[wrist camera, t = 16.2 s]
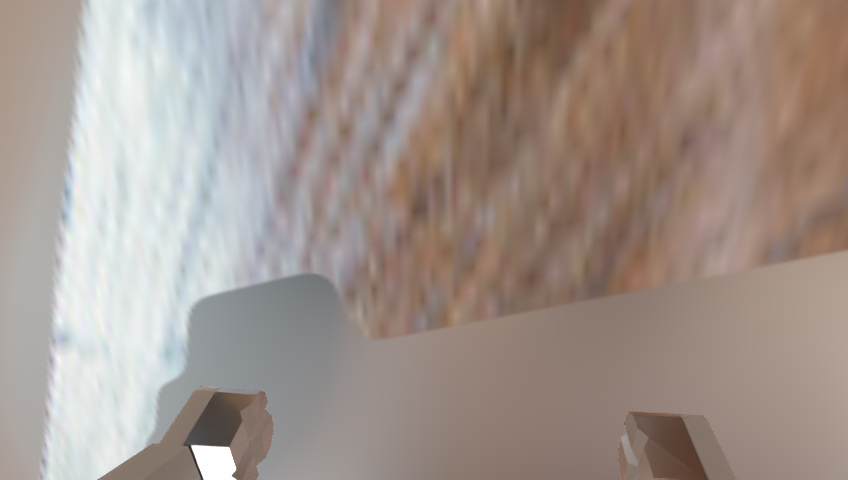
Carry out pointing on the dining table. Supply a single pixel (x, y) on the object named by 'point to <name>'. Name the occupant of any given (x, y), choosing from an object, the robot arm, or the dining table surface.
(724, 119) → the dining table surface
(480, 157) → the dining table surface
